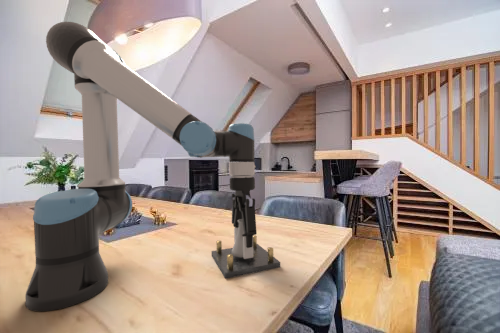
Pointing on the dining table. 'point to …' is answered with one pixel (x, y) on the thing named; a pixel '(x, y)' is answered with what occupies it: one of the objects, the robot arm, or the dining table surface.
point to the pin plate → (244, 260)
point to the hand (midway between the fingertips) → (243, 252)
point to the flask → (239, 241)
